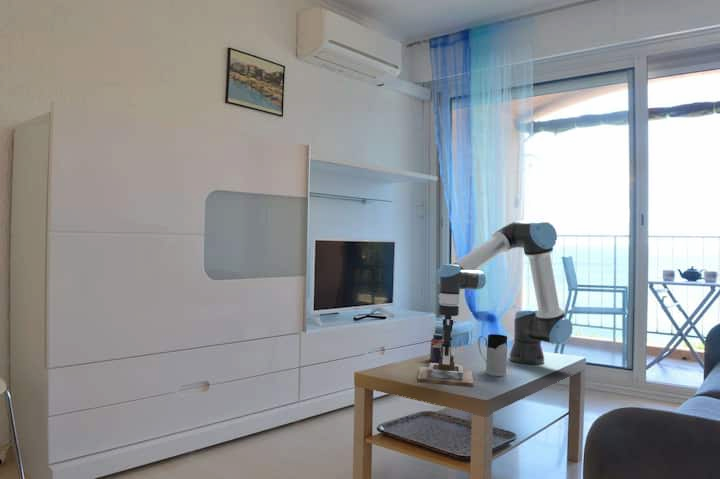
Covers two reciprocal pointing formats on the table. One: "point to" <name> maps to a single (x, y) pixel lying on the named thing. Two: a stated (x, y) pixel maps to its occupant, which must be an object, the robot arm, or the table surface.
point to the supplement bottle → (436, 342)
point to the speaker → (437, 352)
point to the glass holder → (495, 354)
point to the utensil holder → (445, 366)
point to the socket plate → (445, 375)
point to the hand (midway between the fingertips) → (446, 360)
